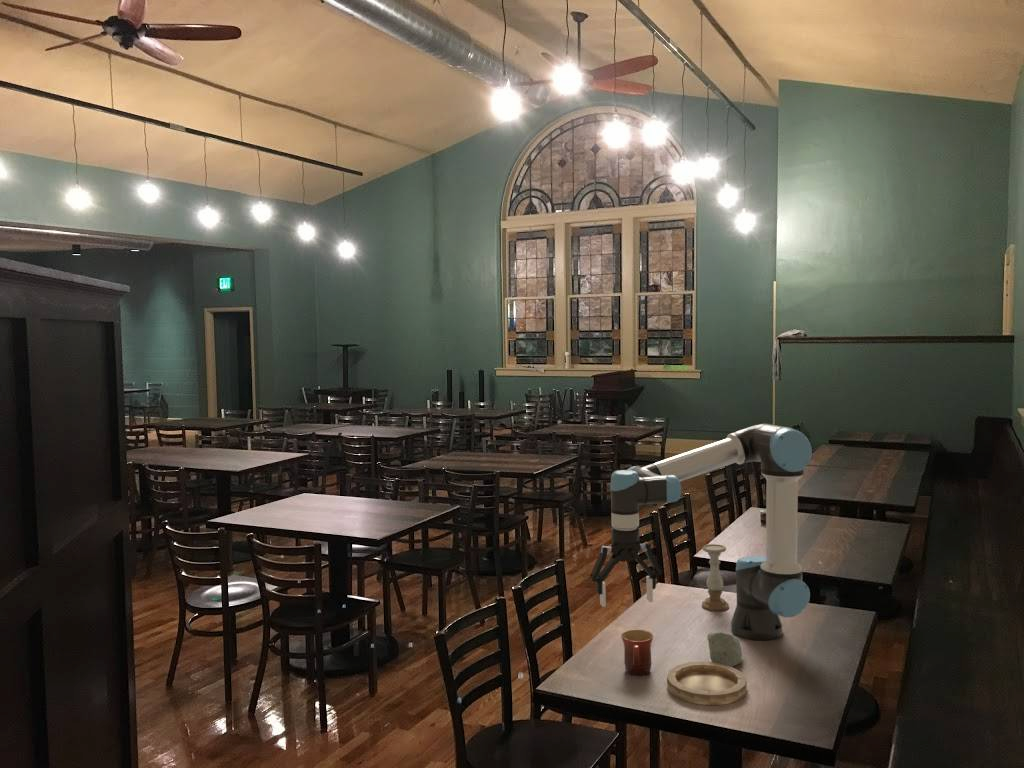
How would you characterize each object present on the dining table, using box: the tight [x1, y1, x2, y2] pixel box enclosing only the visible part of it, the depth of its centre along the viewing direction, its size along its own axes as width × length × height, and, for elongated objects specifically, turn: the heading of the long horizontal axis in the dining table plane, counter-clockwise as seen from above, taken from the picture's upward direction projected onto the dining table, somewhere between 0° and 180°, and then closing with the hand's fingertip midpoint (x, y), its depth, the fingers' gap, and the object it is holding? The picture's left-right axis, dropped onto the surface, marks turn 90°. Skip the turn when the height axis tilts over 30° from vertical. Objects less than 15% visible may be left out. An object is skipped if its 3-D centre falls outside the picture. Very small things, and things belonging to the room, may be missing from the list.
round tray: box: [666, 661, 748, 707], centre depth 220 cm, size 20×20×3 cm
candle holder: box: [701, 543, 730, 612], centre depth 279 cm, size 9×9×20 cm
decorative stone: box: [706, 631, 743, 668], centre depth 236 cm, size 13×11×10 cm
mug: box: [620, 628, 654, 676], centre depth 230 cm, size 12×9×10 cm
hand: (626, 603), depth 231 cm, fingers open, 13 cm apart
